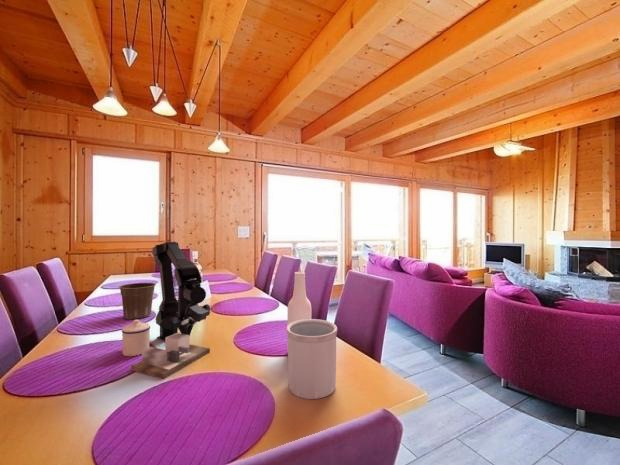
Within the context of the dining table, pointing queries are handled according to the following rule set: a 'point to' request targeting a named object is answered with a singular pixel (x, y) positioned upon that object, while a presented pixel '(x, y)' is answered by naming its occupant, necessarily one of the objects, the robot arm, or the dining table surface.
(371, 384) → the dining table surface
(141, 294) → the plant pot
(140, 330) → the cream canister
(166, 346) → the pink rectangular block
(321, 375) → the utensil holder
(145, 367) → the gauge board
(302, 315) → the alcohol
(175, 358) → the dark grey upright block
